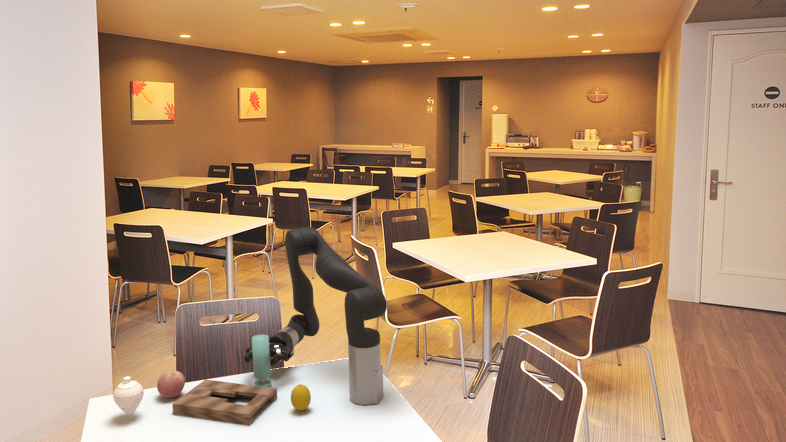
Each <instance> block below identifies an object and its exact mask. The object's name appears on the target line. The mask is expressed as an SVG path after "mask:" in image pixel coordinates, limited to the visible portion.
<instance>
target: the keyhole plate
mask: <svg viewBox="0 0 786 442" xmlns="http://www.w3.org/2000/svg"><path fill="white" fill-rule="evenodd" d="M213 395H215V396H222V397H228V398H229V397H230V398H235V397H236V398H242V399H243V398H244V399H251V400H249V402H248V403H246V404H241V403H232V402H228V398H221V397H215V396H213ZM277 400H278V388H275V387H270V388H269V387H261V386H254V384H253V385H251V384H244V383H236V382H229V381H228V382H227V381H221V380H213V379H204V380H203V381H201V382H200V383H199V384H196V386H193V388H192V389H191V390H189V391H187V393H185V394H183V395H182V396H181V397H179V398H178V399H177V400H175V401H174V402H173V403H172V414H173V415H176V416H183V417H188V418H189V417H190V418H196V419H204V420H211V421H218V422H224V423H231V424H235V425H237V424H238V425H244V426H251V425H252V424H253V423H254V421H255V420H254V414H255V413H256V412H257V411H258V410H259V409H260V408H261V407H263V406H264V405H265V404H266V403H267V402H272V403H273V402H274V403H275V402H276V401H277Z"/></svg>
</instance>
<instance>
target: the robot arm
mask: <svg viewBox="0 0 786 442" xmlns="http://www.w3.org/2000/svg"><path fill="white" fill-rule="evenodd" d="M284 237H285V238H284V246H285V247H284V248H285V252H286V257H287V264H288V267H289V273H290V279H291V284H292V285H291V286H292V300H293V302H292V304H293V309H294V310H295V311H296V312H298V313H300V314H297V313H296V314H294V315H292V316H291V317H290V319H289V321H288V323H287V324H286V326H285V327H283V328H281V329H279V330H278V331H277V332H275V333H274V334H273V335H270V337H269V354H270V367H271V366H272V367H274V366H275V365H277V364H278V363H280V362H282V361H284V362H288V361H289V360H291V358H292V357H294V355H295V350H294V348H295V347H296V346H297V345H298V344H299V343H300V342H302V340H303V339H304V338H305V336H306V337H314V336H316V335H317V334H318V332H319V330H320V319H319V316H318V314H317V311H316V308H315V304H314V288H313V285H312V282H311V280H310V279H309V277H308V276H307V274H305V271H304V270H303V269H302V267H301V265H300V260H299V259H300V258H299V257H301V256H306V255H310V254H313V255H316V259H315V263H314V267H315V272H316V274H317V276H318V277H319V278H320V279H321V280H322V281H323V282H324V283H325V284H326V285H327V286H328V287H330V288H332V289H333V290H334V289H335V290H336V291H340V292H343V293H346V294H345V296H344V314H345V328H346V329H345V330H346V335H347V340H348V341H347V343H348V344H347V345H348V379H349V380H348V381H349V383H348V384H349V387H348V388H349V390H348V391H349V401H350V402H351V403H353V404H355V405H361V406H368V405H378V404H379V402H380V401H381V399H382V398H383V396H384V367H383V364H381V334H380V332H379V331H378V330H377V329H374V328H371V327H367V326H365V321H369V320H373V319H377V318H379V317H382V316H383V315H384V314H385V313H386V311H387V309H388V303H387V299H386V296H385V294H384V292H383V291H382V290H381V288H379V287H378V286H377V285H375V284H374V283H372V282H371V281H370V280H368V279H366V278H365V277H364V276H362V275H361V274H360V273H359V272H358V271H357V270H356V269H354V268H353V267H352V266H351V265H350V264H349V263H348V262H347V261H346V259H344V258H343V257H342V256H341V255H340V254H339V253H337V252H336V251H335V249H334V248H332V247H331V245H330V244H328V243H327V241H326V240H325V238H324V237H323V236H322V235H321V233H320V232H319V230H317V229H316V228H315V227H313V226H304V227H299V228H294V229H289V230H288V231H286V233H285V236H284ZM251 361H253V352H252V345H250V346H248V347H247V348H245V355H244V362H245V364H246V363H247V364H249V363H250V362H251Z"/></svg>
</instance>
